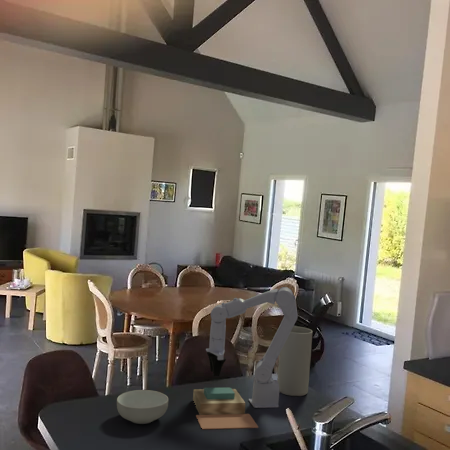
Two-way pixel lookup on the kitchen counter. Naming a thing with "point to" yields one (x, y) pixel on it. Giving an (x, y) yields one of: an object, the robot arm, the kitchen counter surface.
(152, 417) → the cereal bowl
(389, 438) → the kitchen counter surface
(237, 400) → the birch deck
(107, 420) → the kitchen counter surface
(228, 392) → the teal rectangular block
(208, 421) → the terracotta mat
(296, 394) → the cylinder vase
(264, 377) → the robot arm
